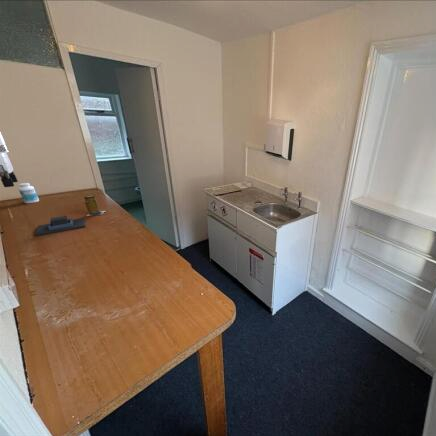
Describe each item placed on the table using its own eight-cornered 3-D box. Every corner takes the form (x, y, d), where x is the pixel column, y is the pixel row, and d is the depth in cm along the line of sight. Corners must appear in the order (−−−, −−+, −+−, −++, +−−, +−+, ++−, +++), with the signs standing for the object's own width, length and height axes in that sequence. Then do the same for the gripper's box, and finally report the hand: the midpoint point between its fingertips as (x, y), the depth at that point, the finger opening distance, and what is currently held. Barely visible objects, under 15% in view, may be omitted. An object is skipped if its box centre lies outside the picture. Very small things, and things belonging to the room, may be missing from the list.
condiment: (90, 212, 154) (85, 194, 149) (106, 211, 156) (101, 194, 151) (86, 216, 147) (80, 198, 142) (102, 215, 150) (96, 197, 145)
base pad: (35, 236, 122) (33, 231, 120) (38, 227, 131) (36, 222, 130) (85, 227, 134) (83, 222, 132) (84, 219, 143) (83, 214, 142)
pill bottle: (25, 201, 165) (16, 183, 160) (39, 199, 170) (32, 181, 165) (24, 204, 160) (15, 185, 155) (39, 202, 165) (31, 184, 160)
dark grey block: (53, 228, 128) (50, 221, 126) (53, 225, 132) (50, 218, 130) (68, 225, 132) (66, 218, 130) (69, 222, 136) (66, 215, 134)
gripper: (-12, 147, 113) (4, 181, 120) (-23, 152, 101) (-5, 189, 108) (11, 146, 118) (25, 179, 124) (3, 151, 106) (19, 187, 112)
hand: (11, 184), depth 116 cm, fingers open, 9 cm apart
